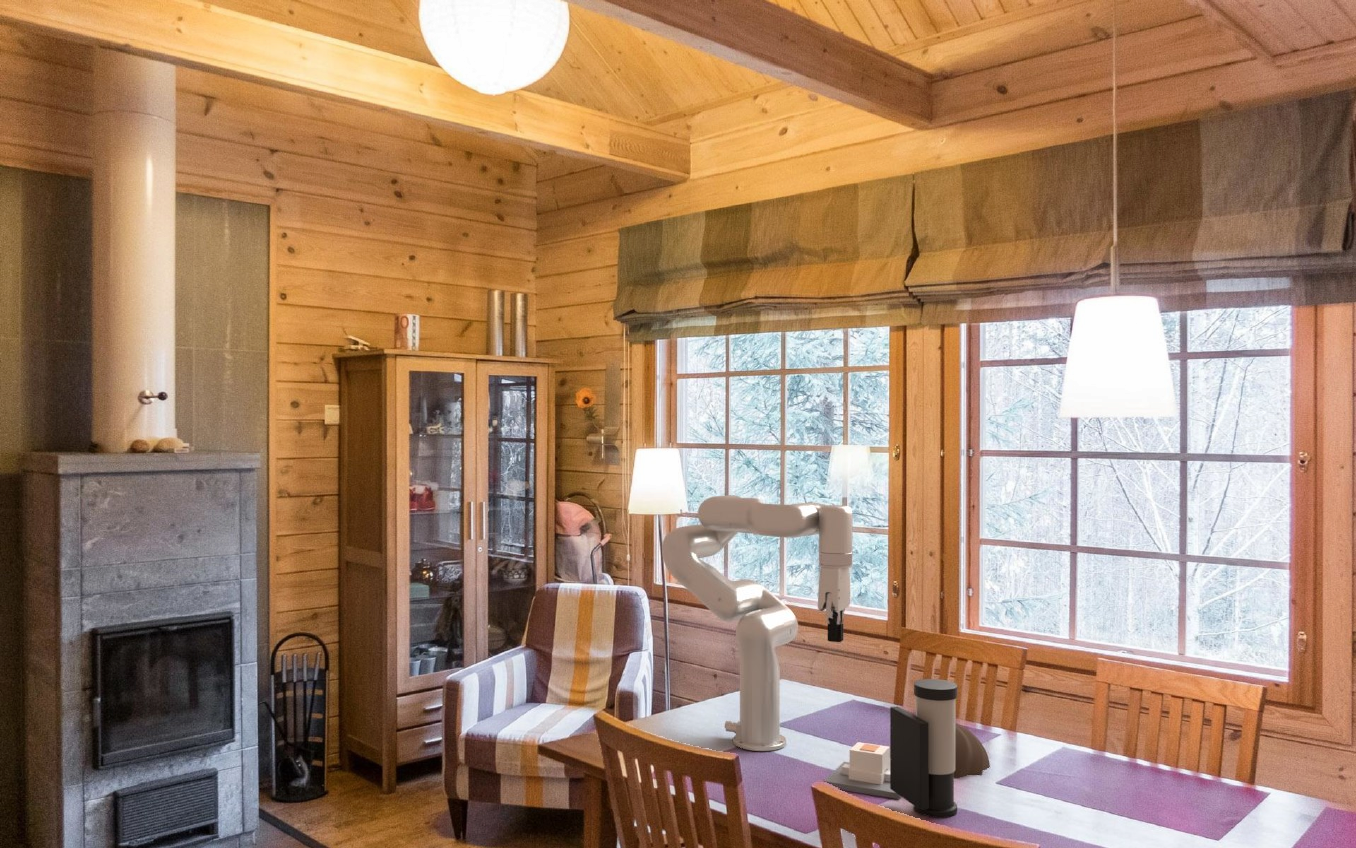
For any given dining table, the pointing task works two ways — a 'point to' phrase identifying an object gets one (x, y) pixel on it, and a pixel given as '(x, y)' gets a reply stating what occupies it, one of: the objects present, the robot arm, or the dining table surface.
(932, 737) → the light fixture
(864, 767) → the block
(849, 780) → the rail board
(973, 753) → the decorative dome
